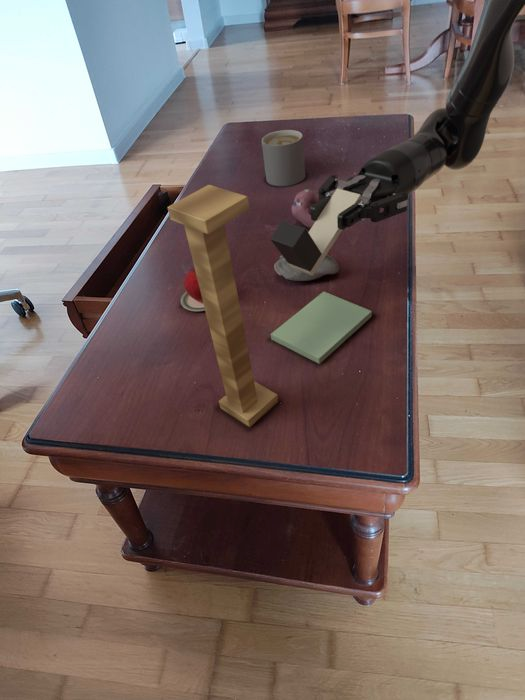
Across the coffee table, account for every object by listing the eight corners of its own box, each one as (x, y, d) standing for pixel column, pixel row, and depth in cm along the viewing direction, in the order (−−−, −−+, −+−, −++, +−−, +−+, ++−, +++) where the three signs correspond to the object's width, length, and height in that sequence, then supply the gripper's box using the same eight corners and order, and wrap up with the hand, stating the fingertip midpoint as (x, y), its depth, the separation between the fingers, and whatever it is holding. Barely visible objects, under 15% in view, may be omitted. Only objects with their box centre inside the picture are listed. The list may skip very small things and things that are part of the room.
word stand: (278, 401, 74) (247, 196, 53) (249, 427, 71) (205, 221, 50) (248, 383, 77) (208, 184, 56) (220, 408, 74) (166, 206, 53)
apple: (176, 296, 97) (167, 266, 92) (215, 282, 98) (209, 253, 94) (189, 318, 91) (180, 288, 87) (230, 303, 93) (224, 273, 88)
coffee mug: (304, 184, 125) (301, 143, 119) (264, 187, 127) (259, 147, 120) (306, 162, 135) (304, 123, 129) (269, 165, 137) (264, 126, 130)
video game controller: (313, 213, 117) (298, 187, 114) (330, 206, 114) (315, 179, 111) (301, 236, 110) (284, 208, 107) (319, 228, 108) (302, 200, 105)
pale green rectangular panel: (371, 316, 85) (371, 310, 84) (319, 364, 78) (319, 358, 78) (323, 296, 91) (323, 291, 90) (271, 339, 84) (270, 334, 83)
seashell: (340, 261, 99) (339, 238, 95) (338, 286, 93) (337, 263, 89) (279, 262, 101) (276, 239, 98) (273, 286, 95) (270, 263, 92)
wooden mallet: (362, 198, 71) (347, 164, 65) (313, 275, 70) (293, 247, 64) (339, 192, 73) (322, 158, 68) (290, 267, 72) (269, 238, 66)
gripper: (357, 141, 80) (284, 181, 72) (441, 157, 72) (370, 204, 63) (357, 187, 85) (288, 230, 76) (435, 207, 77) (369, 257, 68)
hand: (326, 218), depth 70 cm, fingers closed on wooden mallet, 4 cm apart
